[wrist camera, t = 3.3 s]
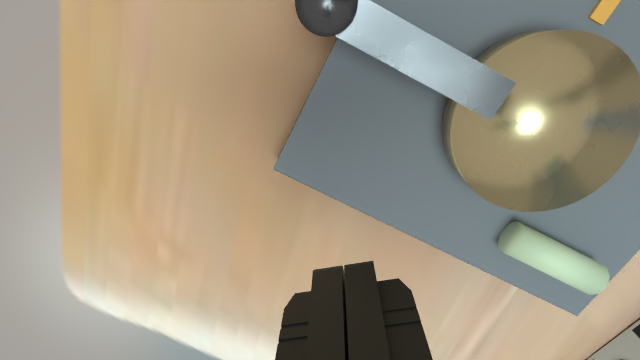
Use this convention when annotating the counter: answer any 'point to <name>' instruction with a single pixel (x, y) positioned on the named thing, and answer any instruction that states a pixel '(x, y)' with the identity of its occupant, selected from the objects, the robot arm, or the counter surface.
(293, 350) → the robot arm
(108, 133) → the counter surface
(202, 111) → the counter surface
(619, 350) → the light bulb box
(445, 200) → the instrument base
